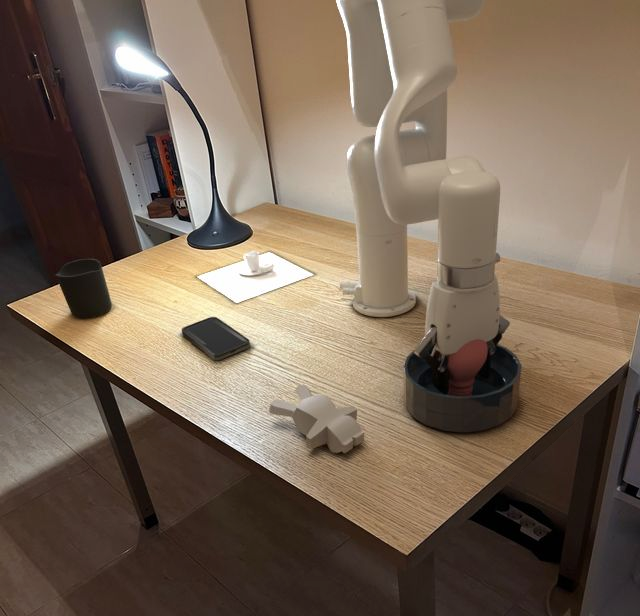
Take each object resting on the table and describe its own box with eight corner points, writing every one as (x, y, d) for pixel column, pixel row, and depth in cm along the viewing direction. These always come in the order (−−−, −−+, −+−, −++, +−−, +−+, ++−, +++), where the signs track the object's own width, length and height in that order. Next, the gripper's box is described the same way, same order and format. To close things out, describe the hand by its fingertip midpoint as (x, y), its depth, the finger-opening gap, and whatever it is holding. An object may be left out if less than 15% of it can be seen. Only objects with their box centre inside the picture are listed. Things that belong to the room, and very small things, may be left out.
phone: (214, 315, 127) (251, 341, 117) (215, 320, 128) (252, 346, 118) (178, 329, 124) (214, 356, 114) (180, 334, 125) (215, 362, 114)
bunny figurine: (330, 446, 85) (260, 396, 94) (330, 473, 89) (263, 422, 97) (378, 415, 90) (307, 370, 98) (376, 441, 93) (308, 395, 102)
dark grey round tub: (394, 428, 94) (393, 392, 90) (415, 368, 106) (415, 334, 103) (513, 440, 89) (517, 403, 85) (520, 376, 102) (524, 341, 98)
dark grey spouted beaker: (122, 307, 138) (108, 264, 132) (84, 324, 133) (68, 280, 127) (100, 297, 143) (86, 255, 137) (62, 314, 138) (46, 271, 132)
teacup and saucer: (280, 270, 146) (277, 253, 143) (250, 281, 143) (247, 264, 140) (261, 260, 152) (258, 244, 149) (232, 270, 149) (229, 254, 146)
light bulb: (473, 416, 93) (478, 346, 86) (429, 405, 97) (430, 336, 89) (490, 392, 98) (496, 323, 91) (447, 381, 101) (449, 314, 94)
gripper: (499, 246, 90) (491, 354, 101) (395, 278, 85) (398, 388, 96) (536, 263, 85) (523, 375, 95) (427, 297, 79) (426, 412, 90)
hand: (461, 381), depth 95 cm, fingers closed on light bulb, 6 cm apart
